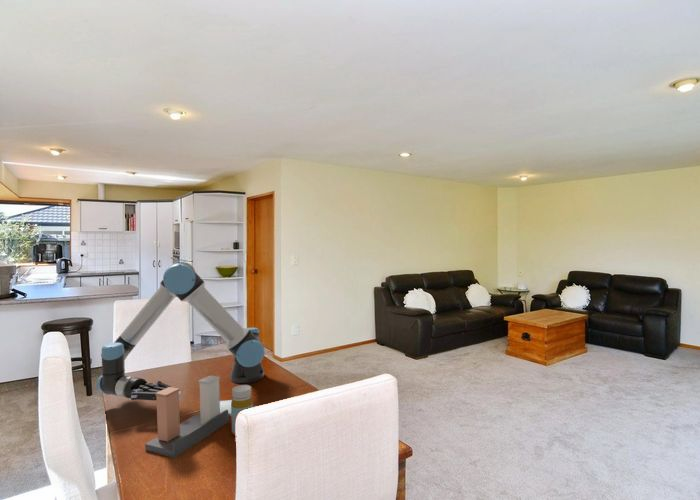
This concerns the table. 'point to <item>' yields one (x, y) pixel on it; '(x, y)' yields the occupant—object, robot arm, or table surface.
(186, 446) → the stand
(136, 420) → the table surface
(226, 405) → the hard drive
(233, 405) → the bottle
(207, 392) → the grey tall block
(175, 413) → the terracotta key
